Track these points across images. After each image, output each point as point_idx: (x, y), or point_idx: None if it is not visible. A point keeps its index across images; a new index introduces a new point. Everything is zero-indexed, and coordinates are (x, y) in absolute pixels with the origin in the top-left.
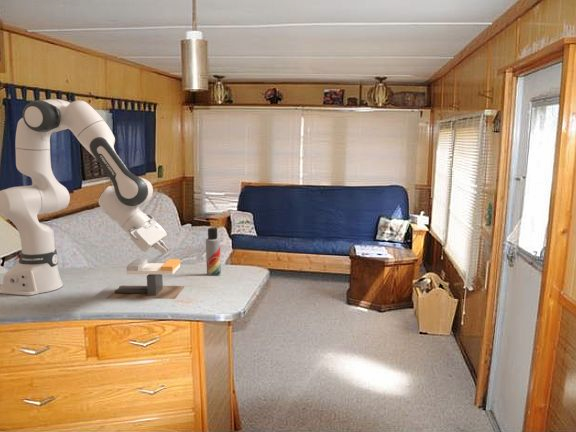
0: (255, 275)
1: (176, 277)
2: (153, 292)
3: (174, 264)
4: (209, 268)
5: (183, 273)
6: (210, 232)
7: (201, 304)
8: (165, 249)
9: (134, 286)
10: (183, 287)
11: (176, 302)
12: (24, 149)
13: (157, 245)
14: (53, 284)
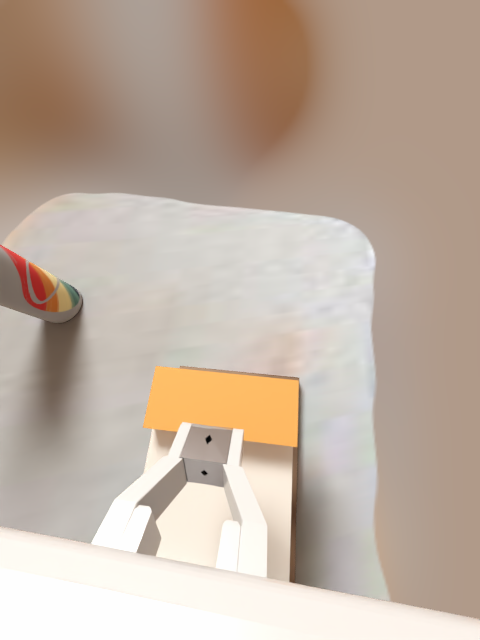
0: (97, 210)
1: (49, 417)
2: None
3: (257, 376)
4: (56, 304)
5: (12, 400)
6: None
7: (307, 306)
8: (240, 442)
9: None
10: (193, 369)
11: (292, 375)
12: None
13: (265, 544)
14: None
